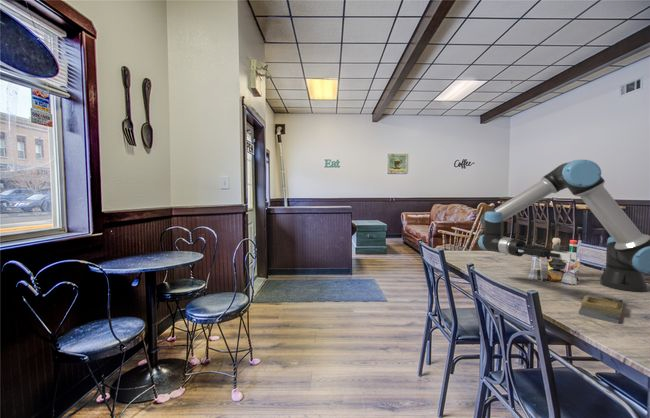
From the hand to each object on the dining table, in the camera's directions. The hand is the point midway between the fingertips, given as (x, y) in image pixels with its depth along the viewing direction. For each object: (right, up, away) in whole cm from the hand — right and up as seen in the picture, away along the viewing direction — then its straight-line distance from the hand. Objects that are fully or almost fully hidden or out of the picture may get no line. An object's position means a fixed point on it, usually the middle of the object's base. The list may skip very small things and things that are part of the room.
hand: (573, 256), depth 110 cm
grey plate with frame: (+8, -19, -3) cm, 21 cm away
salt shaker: (-2, -7, +5) cm, 9 cm away
